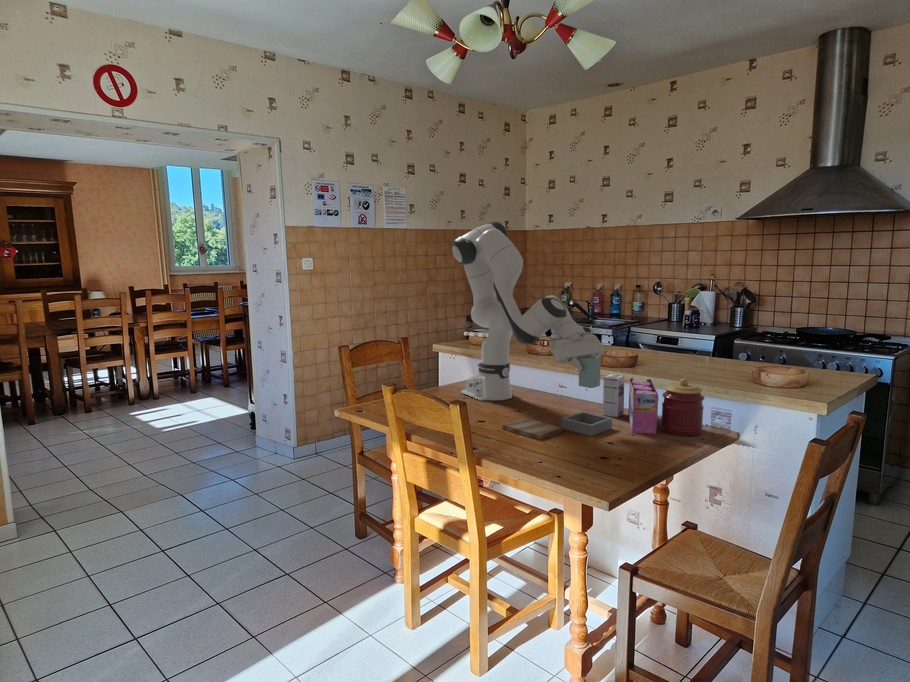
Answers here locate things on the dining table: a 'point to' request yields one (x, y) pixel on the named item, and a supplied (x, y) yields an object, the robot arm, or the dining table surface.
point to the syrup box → (613, 395)
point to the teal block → (590, 372)
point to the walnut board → (532, 428)
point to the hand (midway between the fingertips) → (589, 368)
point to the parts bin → (576, 424)
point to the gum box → (643, 406)
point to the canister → (682, 409)
